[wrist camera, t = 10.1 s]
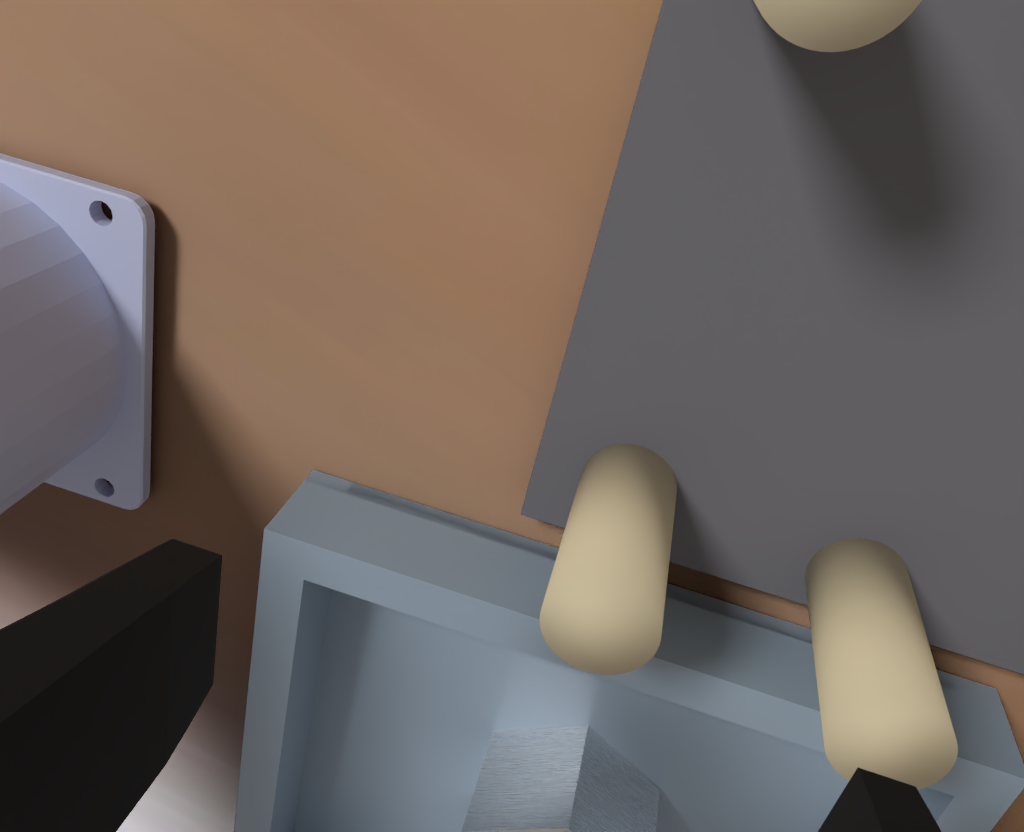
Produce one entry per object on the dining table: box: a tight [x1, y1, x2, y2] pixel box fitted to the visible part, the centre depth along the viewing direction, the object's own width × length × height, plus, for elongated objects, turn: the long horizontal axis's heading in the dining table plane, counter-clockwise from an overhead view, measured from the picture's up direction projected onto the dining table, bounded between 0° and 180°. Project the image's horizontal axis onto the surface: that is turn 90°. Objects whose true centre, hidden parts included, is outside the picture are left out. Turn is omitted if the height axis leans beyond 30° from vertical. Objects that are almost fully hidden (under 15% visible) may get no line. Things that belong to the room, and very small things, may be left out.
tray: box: [234, 470, 1024, 832], centre depth 22 cm, size 16×14×2 cm
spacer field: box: [521, 0, 1024, 790], centre depth 14 cm, size 14×13×5 cm
